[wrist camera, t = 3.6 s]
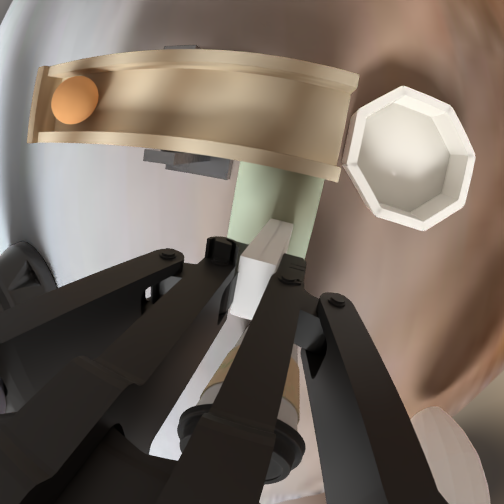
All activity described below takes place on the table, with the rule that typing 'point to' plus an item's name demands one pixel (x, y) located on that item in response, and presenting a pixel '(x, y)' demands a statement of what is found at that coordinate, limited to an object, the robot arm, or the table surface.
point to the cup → (451, 457)
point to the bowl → (409, 158)
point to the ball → (74, 100)
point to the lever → (218, 122)
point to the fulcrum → (190, 154)
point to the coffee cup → (287, 438)
